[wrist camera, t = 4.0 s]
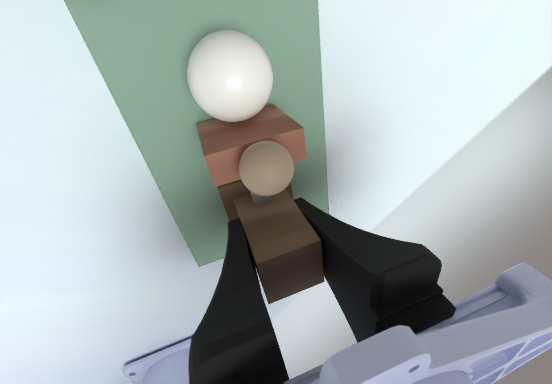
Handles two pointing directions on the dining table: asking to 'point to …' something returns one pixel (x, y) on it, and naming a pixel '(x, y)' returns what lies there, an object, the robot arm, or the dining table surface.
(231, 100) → the ball
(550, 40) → the dining table surface
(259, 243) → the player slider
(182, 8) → the pitch mat
